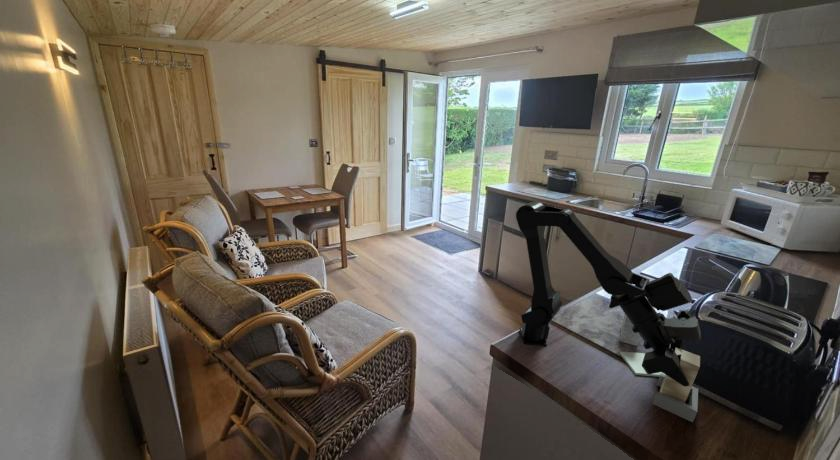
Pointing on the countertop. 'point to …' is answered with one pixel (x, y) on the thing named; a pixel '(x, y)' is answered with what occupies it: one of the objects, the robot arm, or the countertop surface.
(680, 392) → the block
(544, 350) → the countertop surface
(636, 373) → the sage pad
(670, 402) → the grey holder
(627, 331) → the medicine box
